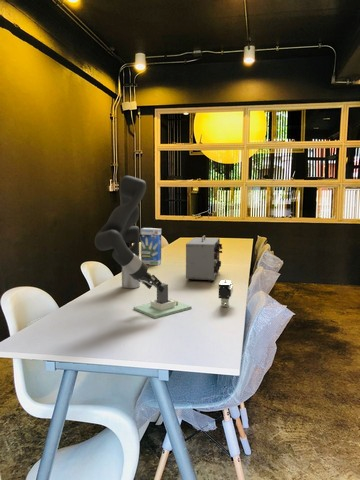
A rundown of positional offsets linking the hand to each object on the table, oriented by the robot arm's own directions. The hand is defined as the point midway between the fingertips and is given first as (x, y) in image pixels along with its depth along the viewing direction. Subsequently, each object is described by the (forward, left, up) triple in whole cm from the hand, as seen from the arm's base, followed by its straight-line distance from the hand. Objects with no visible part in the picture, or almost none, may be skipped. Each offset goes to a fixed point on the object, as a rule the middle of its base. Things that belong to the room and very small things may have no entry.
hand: (156, 288), depth 159 cm
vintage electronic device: (+20, +68, -10) cm, 72 cm away
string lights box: (-19, +106, -10) cm, 108 cm away
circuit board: (+2, +2, -10) cm, 10 cm away
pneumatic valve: (+30, +8, -10) cm, 33 cm away
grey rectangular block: (+2, +2, -9) cm, 9 cm away
